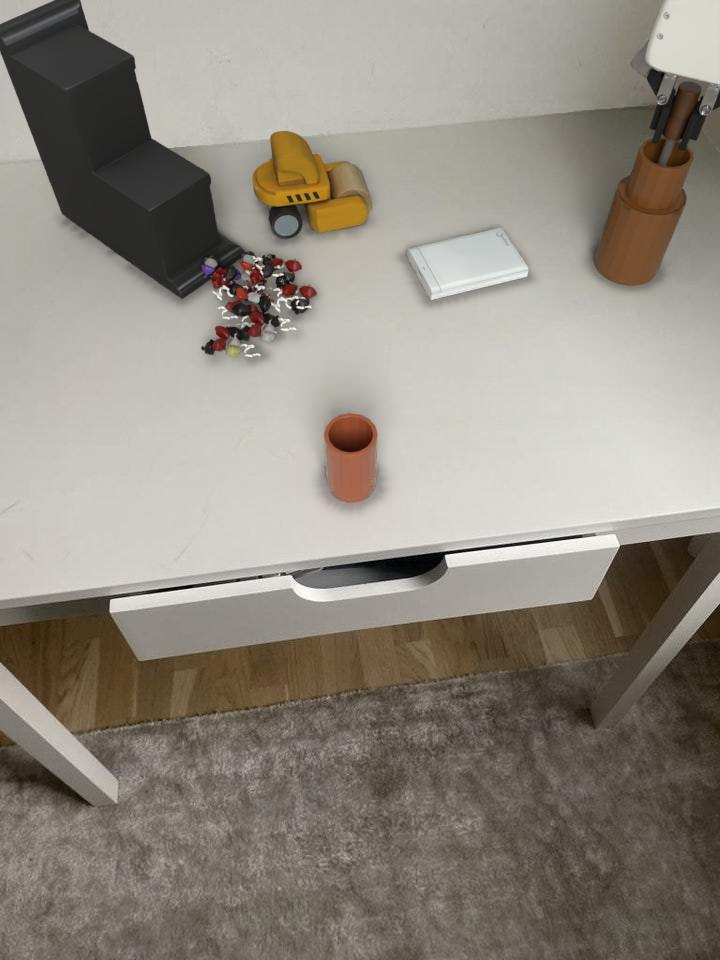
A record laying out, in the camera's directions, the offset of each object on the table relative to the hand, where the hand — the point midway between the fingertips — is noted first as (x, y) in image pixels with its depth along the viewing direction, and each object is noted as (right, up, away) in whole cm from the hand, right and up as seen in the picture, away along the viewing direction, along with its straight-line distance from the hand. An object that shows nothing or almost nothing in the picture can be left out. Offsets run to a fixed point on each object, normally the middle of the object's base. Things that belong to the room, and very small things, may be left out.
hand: (671, 138), depth 79 cm
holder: (-33, -36, -4) cm, 49 cm away
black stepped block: (-59, -5, +17) cm, 61 cm away
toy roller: (-39, -1, +19) cm, 43 cm away
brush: (0, -8, +12) cm, 15 cm away
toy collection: (-45, -16, +10) cm, 48 cm away
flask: (0, -9, +14) cm, 17 cm away
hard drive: (-20, -10, +14) cm, 26 cm away
